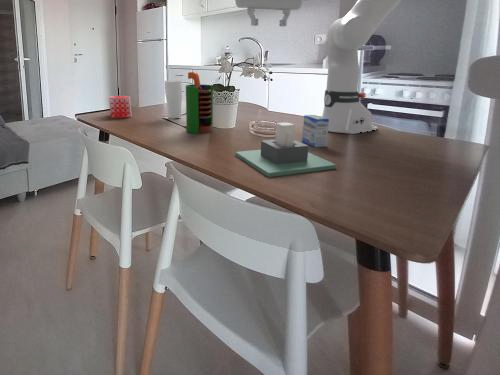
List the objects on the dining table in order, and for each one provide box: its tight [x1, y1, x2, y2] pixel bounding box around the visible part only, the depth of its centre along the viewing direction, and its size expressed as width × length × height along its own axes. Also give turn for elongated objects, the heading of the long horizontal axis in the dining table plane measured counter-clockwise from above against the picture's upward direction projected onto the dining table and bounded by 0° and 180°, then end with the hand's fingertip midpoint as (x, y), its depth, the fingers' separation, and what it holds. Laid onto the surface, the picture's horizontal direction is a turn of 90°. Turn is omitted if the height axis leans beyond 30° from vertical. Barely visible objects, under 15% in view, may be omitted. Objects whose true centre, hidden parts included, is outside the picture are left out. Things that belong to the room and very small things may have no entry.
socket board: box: [235, 139, 337, 178], centre depth 97 cm, size 19×20×5 cm
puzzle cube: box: [108, 95, 132, 119], centre depth 157 cm, size 8×8×8 cm
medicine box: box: [301, 114, 329, 148], centre depth 116 cm, size 8×4×9 cm, turn 23°
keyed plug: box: [274, 122, 296, 147], centre depth 96 cm, size 4×4×9 cm
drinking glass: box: [164, 79, 183, 119], centre depth 153 cm, size 7×7×15 cm
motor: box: [185, 71, 214, 135], centre depth 129 cm, size 10×9×20 cm
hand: (269, 26), depth 110 cm, fingers open, 8 cm apart
